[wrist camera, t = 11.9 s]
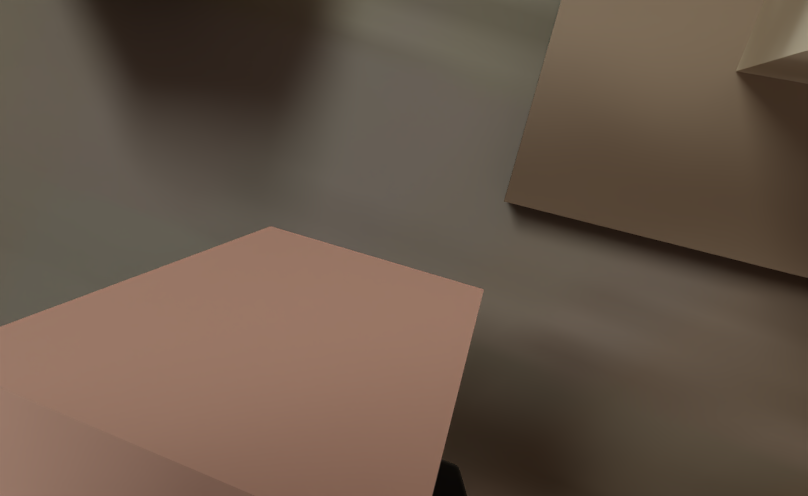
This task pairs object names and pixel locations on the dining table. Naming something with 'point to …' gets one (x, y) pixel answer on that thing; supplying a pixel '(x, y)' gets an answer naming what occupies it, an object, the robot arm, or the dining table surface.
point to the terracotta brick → (239, 378)
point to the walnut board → (668, 131)
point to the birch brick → (779, 42)
